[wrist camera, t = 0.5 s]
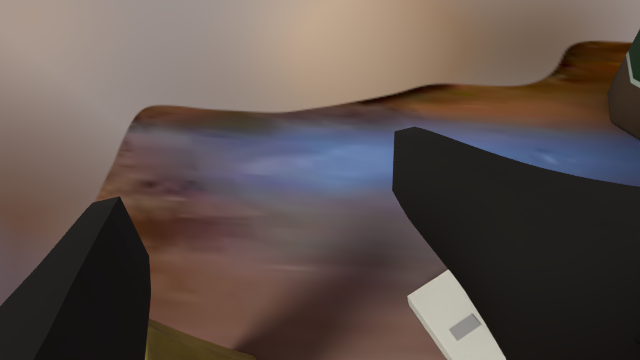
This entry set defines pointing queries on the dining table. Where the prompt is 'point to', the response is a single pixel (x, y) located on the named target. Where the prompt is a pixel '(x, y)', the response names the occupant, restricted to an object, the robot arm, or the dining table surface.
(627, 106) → the beer bottle
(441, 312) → the fader panel
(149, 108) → the dining table surface
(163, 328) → the vase
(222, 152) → the dining table surface
